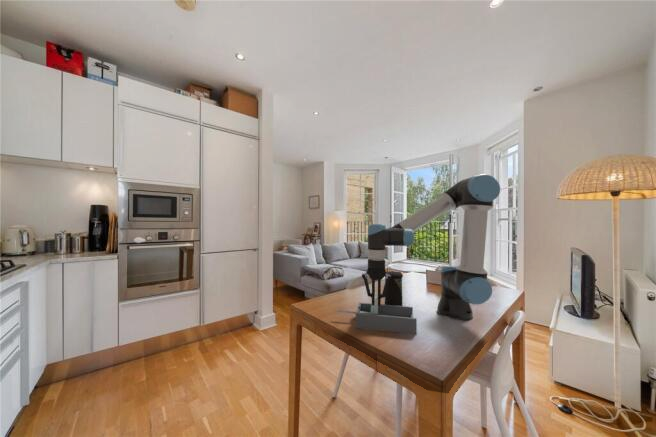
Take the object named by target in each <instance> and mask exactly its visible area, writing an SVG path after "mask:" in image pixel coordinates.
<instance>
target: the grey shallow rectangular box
mask: <svg viewBox="0 0 656 437" xmlns="http://www.w3.org/2000/svg"><path fill="white" fill-rule="evenodd" d="M371 305H372V302H371V303H370V302H369V303H368V302H358V306H357V309H356V311H357V312H356V313H355V329H362V330H371V331H378V332H379V331H381V332H388V333H399V334H409V335H417V334H418V333H417V332H418V330H417V326H418V324H417V322H418V320H417V319H418V318H417V317H414V315H413V313H414V312H413V310H414V309H413V306H405V305H402V306H395V305H385V304H381V305H380V306H378V314H364V313H360V312H371Z"/></svg>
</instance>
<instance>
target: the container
mask: <svg viewBox="0 0 656 437" xmlns="http://www.w3.org/2000/svg"><path fill="white" fill-rule="evenodd" d="M386 273H387V274H388V275H391V279H390V280H389V283H388V286H387V290H386V294H385V297H384V305H395V306H403V277H404V274H403V273H402V272H401V271H400V272H399V271H394V270H390V271H389V270H388V271H386ZM385 277H386V276H384V282H385V281H386V278H385Z"/></svg>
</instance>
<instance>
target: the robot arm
mask: <svg viewBox="0 0 656 437" xmlns="http://www.w3.org/2000/svg"><path fill="white" fill-rule="evenodd" d="M500 193H501V186H500V183H499V181H498V180H497V179H496V178H495V177H494V176H492V175H490V174H485V173H481V174H476V175H472V176H471V177H468V178H465V179H462V180H460V181H458V182H456V183H455V184H454V185H453V186H451V187H450V188H448V189H446V190H445V191H444V192H442V193H441V195H440V197H438V198H437V199H435V200H434V201H432V202H430V203H428V204H427V205H425V206H424V207H422V208H421V209H419V210H417V211H416V212H414V213H413V214H411V215H409V216H408V217H406V218H404V219H403V220H401V221H399V222H398V223H396V224H395V225H393V226H391V227H388V228H386V224H385V223H383V224H382V223H371V224H368V228H367V258H368V259H367V269H366V272H364V273H363V272H362V273H361V277H362V279H363V282H364V285H365V291H366V294H367V297H369V298H371V304H372V305H374V314H378V306H380V305H381V303H382V301H381V299H382V298H384V299H385V294H386V290H387V286H388V283H389V280H390V279H391V275H388V274H387V273H386V272H387V270H386V246H388V247H389V246H391V247H392V246H394V247H395V246H396V247H410V246H412V245H414V242H415V233H414V232H416V231H417V230H419V229H421V228H423V227H424V226H425V225H427V224H429V223H431V222H432V221H434V220H436V219H437V218H439V217H441V216H442V215H444V214H445V213H447V212H448V211H450V210H452V211H454V210H456V209H458V208H460V207H461V208H462V209H463V211H464V214H463V224H462V227H463V228H462V238H461V239H462V240H461V252H460V262H459V265H458V266H457V265H443V266H442V267H441V271H440V278H441V279H440V281H441V282H440V285H441V286H440V290H441V291H440V293H441V296H440V298H439V301H438V304H437V307H436V309H437V310H436V311H437V314H440V315H441V316H444V317H446V318H449V319H455V320H471V319H472V318H473V315H474V314H473V309H472V306H471V305H474V306H476V305H481V304H485V303H486V302H487V301H488V300H489V299H490V298H491V297H492V295H493V288H492V284H491V283H490V281H489V280H488V271H487V269H485V267H484V265H485V253H486V241H487V240H486V238H487V228H488V226H487V225H488V217H489V216H488V214H489V211H490V210H491V209H493V205H494V200H496V199H497V198H498V197H499V196H500ZM385 276H386V277H385ZM368 277H369V278H370V280H371V289H370V285H369V281H368ZM383 278H384V279H385V278H386V281H385V280H384V286H383V290H381V289H382V288H381V287H382V282H381V281H382V280H383ZM376 281H377V296H376V295H375V294H376V293H375V292H376V288H375V287H376ZM381 291H382V292H381Z"/></svg>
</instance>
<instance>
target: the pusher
mask: <svg viewBox="0 0 656 437" xmlns="http://www.w3.org/2000/svg"><path fill="white" fill-rule="evenodd" d="M336 312H338V313H345V314H346V313H348V314H356V312H357V310H346V309H337V310H336ZM360 313H364V314H374V305H371V312H360Z"/></svg>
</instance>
